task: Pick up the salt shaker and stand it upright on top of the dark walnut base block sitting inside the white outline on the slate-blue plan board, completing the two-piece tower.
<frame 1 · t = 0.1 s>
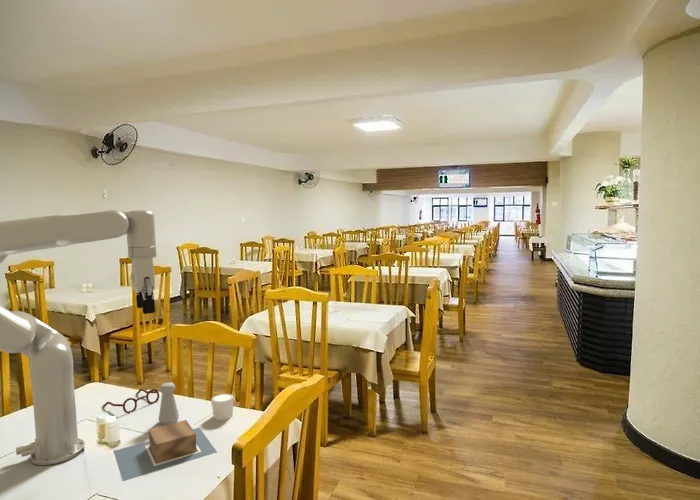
hand: (145, 310, 136), 37 cm above the table, tool pointing down, fingers open, 9 cm apart
plan board: (165, 454, 125), on the table
glasses: (131, 405, 159), on the table
salt shaker: (169, 425, 142), on the table
white rounded cylinder: (223, 419, 146), on the table
walnut block: (172, 449, 126), point 1 cm above the table, touching plan board
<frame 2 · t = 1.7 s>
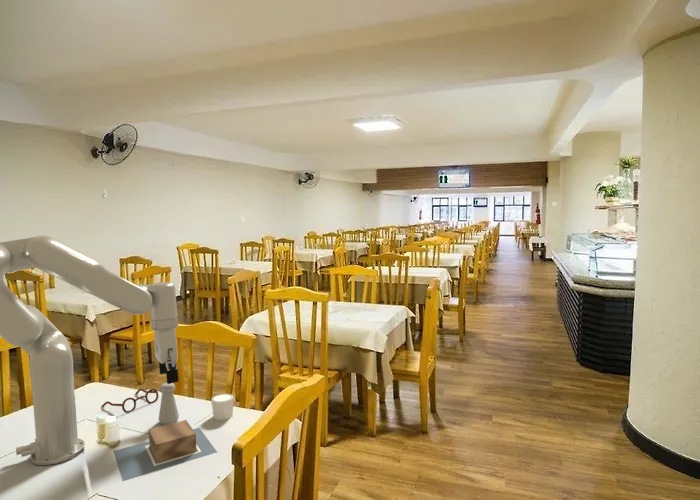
hand: (169, 377, 141), 15 cm above the table, tool pointing down, fingers open, 9 cm apart
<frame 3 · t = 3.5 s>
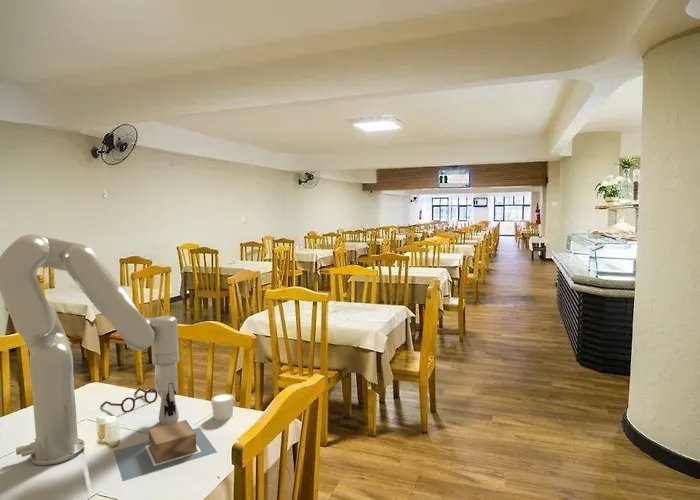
hand: (168, 414, 142), 3 cm above the table, tool pointing down, fingers closed on salt shaker, 3 cm apart
salt shaker: (169, 425, 142), on the table, touching gripper
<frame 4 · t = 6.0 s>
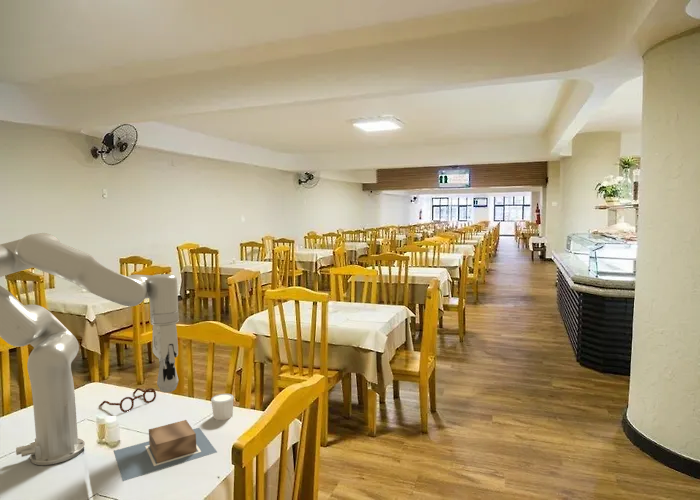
hand: (167, 379, 134), 17 cm above the table, tool pointing down, fingers closed on salt shaker, 3 cm apart
salt shaker: (168, 390, 134), point 14 cm above the table, touching gripper
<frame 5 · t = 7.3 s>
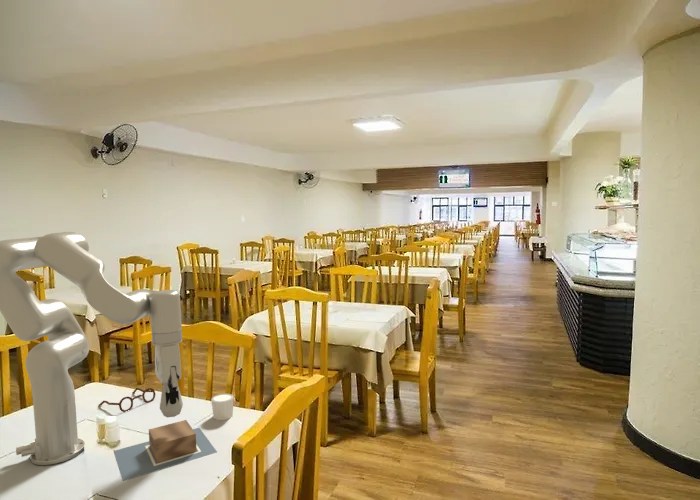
hand: (171, 402, 125), 14 cm above the table, tool pointing down, fingers closed on salt shaker, 3 cm apart
salt shaker: (172, 414, 125), point 11 cm above the table, touching gripper
when the fingers open (11 cm above the table, at t = 8.5 s): salt shaker drops 1 cm, resting on walnut block.
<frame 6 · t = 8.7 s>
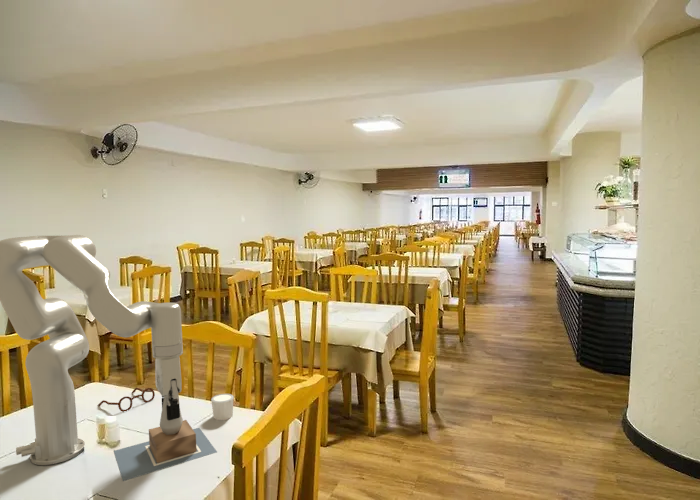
hand: (171, 414, 125), 11 cm above the table, tool pointing down, fingers open, 5 cm apart
salt shaker: (171, 431, 125), point 6 cm above the table, touching walnut block
walnut block: (172, 449, 126), point 1 cm above the table, touching plan board, salt shaker
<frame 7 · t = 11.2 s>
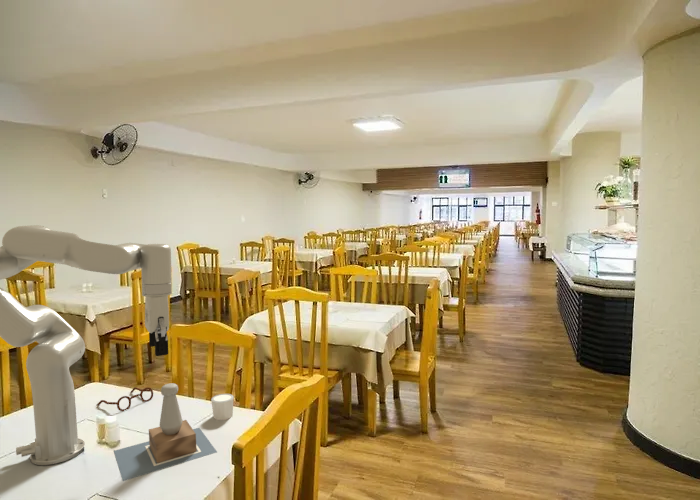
hand: (158, 350, 128), 27 cm above the table, tool pointing down, fingers open, 9 cm apart
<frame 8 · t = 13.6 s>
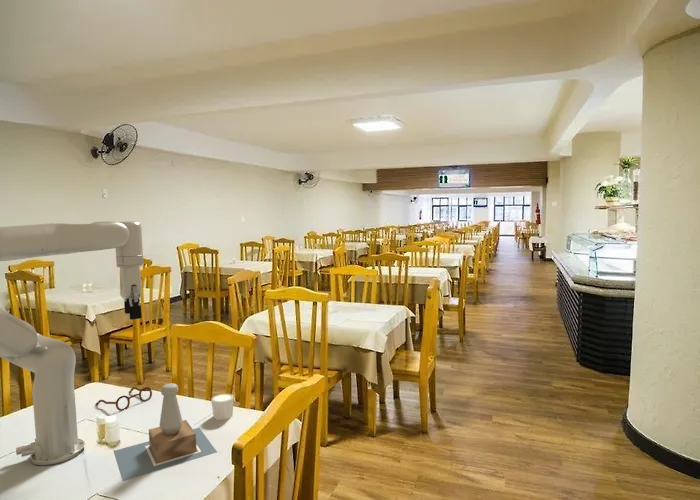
hand: (133, 315, 144), 33 cm above the table, tool pointing down, fingers open, 9 cm apart
at the end: salt shaker 0.2 cm off-centre on the walnut block, point 4.8 cm above the walnut block's base; salt shaker tilted 0°; the gripper is holding nothing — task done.
